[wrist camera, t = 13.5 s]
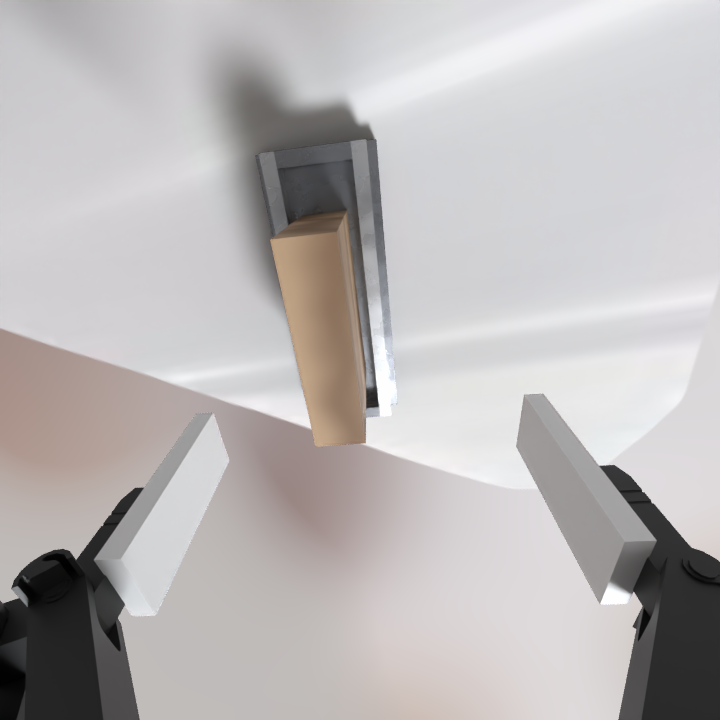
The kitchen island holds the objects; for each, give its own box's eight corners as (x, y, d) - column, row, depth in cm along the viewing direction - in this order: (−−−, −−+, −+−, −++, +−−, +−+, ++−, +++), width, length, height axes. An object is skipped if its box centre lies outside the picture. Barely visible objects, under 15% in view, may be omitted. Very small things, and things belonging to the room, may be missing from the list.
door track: (312, 403, 43) (308, 422, 40) (260, 155, 31) (248, 154, 28) (396, 396, 43) (398, 414, 40) (375, 140, 31) (376, 137, 28)
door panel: (320, 372, 40) (303, 447, 29) (291, 216, 32) (253, 241, 22) (366, 368, 39) (365, 443, 29) (347, 210, 32) (336, 231, 21)
